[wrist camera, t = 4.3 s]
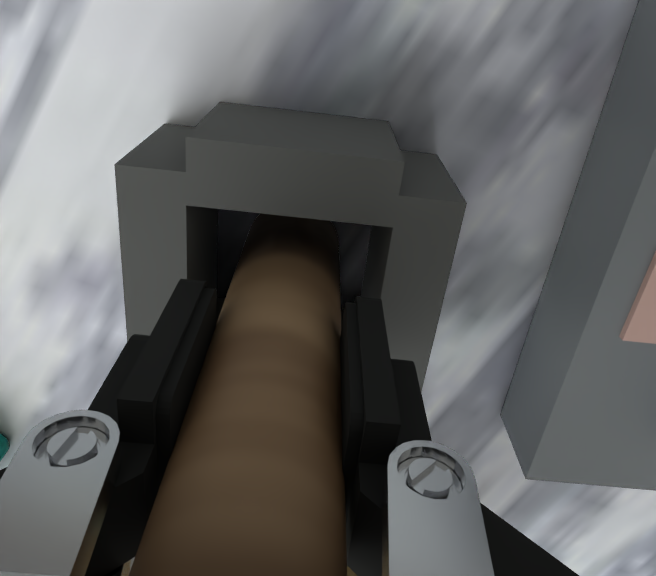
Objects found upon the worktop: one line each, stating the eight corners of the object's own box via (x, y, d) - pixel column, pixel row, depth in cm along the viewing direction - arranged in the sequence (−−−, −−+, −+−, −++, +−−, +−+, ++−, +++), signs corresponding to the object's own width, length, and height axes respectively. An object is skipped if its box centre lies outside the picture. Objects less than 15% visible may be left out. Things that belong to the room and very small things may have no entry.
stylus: (333, 290, 18) (334, 982, 5) (245, 281, 18) (37, 972, 5) (344, 207, 16) (379, 872, 4) (249, 196, 16) (-16, 850, 4)
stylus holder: (395, 353, 19) (410, 437, 15) (170, 332, 19) (132, 412, 15) (442, 127, 15) (475, 169, 12) (163, 95, 15) (112, 129, 11)
